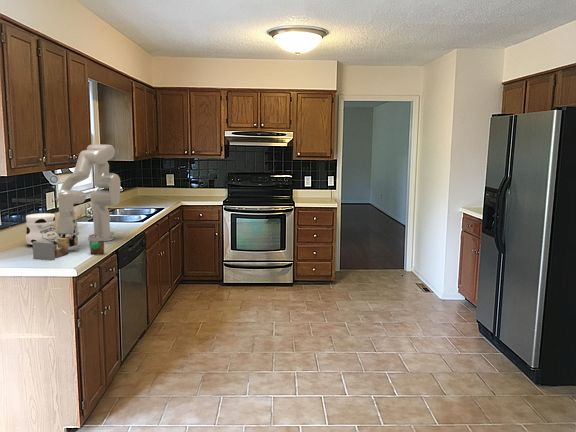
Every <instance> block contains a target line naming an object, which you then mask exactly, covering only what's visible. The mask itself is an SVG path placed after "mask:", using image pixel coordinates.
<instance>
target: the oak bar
mask: <svg viewBox="0 0 576 432" xmlns="http://www.w3.org/2000/svg"><path fill="white" fill-rule="evenodd" d="M78 236H79V235H77V236H76V238H75V239H74V241H75V245H74V246H70V236H66V237H64V238H60V237H58V240H57V249H60V248H63V247H68V248H71V247H76V246H78V245H79V242H78V241H79V239H78Z"/></svg>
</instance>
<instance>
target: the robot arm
mask: <svg viewBox="0 0 576 432" xmlns="http://www.w3.org/2000/svg"><path fill="white" fill-rule="evenodd" d="M115 154H116V150H115V148H114V146H113V145H111V144H99V143H98V144H97V143H95V144H89V145H88V146H87V147H86V150H81V151H80V153H79V154H78V157H77V161H76V165H75V168H74V171H73V173H72V174H70V175H69V176H68V177H67V178H65V180H64V181H63V182H62V184H61V186H60V191H59V193H58V195H57V200H58V201H57V202H58V215H59V216H58V217H57V219H58V220H57V229H56V233H57V234H58V237H59V238H64V237H67V236H66V235H69V236H70V246H72V247H75V246H74V245H75V241H74V239H75V238H76V236H79V235H80V233H79V229H78V221H77V218H76V216H75V215H76V212H75V211H74V209H75V207H74V204H76V205H77V204H79V205H80V204H82V203H84V202H85V201H86V199H87V195H86V193H85V192H84V191H81V190H73V187H74V186H75V185H76V184H79V183H80V182H84V181H85V180H87V179H88V178H89V177H90V176H91V175H90V174H91V172H92V171H91V170H92V168H93V166H94V170H93V171H94V173H93V174H94V175H93V185H94V186H95V188H98V189H97V190H94V191H92V192H91V194H90V203H91V206H92V219H93V220H92V221H93V234H96V236H100V237H104V242H110V241H113V240H114V237H113V235H115V232H114V231H111V223H110V221H111V220H110V210H109V209H108V207H116V206H117V205H118V204H119V202H120V199H121V198H120V196H121V178H120V176H119V175H118V174H116V173H113V172H110V164H109V162H108V161H110V160H112V159H113V158H114V157H115ZM99 189H100V190H99ZM101 189H103V190H101ZM105 189H109V190H105Z"/></svg>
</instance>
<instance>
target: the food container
mask: <svg viewBox="0 0 576 432" xmlns="http://www.w3.org/2000/svg"><path fill="white" fill-rule="evenodd" d="M87 240H88V241H89V248H90V249H89V250H90V254H91V255H94V256H95V255H97V256H98V255H99V256H101V255H104V254H105V241H104V237H100V236H96V234H94V233H92V234H89V235H88V238H87Z"/></svg>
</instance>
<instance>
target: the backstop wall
mask: <svg viewBox="0 0 576 432" xmlns="http://www.w3.org/2000/svg"><path fill="white" fill-rule="evenodd" d="M32 244H33V246H32V253H33V255H32V256H33V259H34V260H44V259H45V261H54V260H56V257H55V251H54V246H55V243H51V242H39V241H34V242H32Z"/></svg>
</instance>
